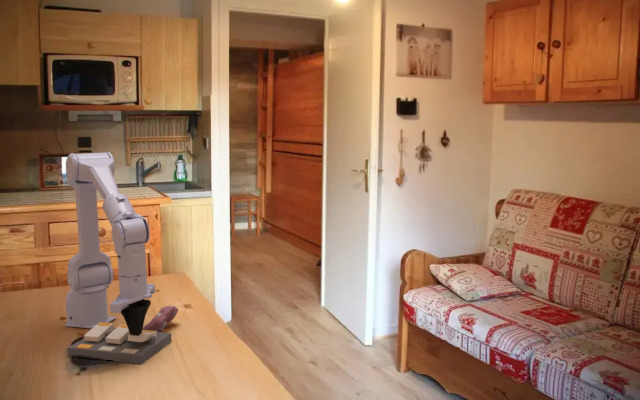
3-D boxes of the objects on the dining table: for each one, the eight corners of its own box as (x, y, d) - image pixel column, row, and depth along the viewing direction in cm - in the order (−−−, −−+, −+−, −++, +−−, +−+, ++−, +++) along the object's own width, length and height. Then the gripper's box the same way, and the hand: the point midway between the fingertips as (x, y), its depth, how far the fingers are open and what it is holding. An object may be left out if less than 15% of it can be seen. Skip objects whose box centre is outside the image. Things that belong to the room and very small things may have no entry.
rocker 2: (106, 342, 127) (105, 337, 126) (121, 328, 132) (120, 323, 132) (120, 344, 126) (119, 338, 125) (135, 329, 131) (134, 325, 131)
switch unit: (67, 356, 125) (66, 341, 125) (103, 334, 138) (102, 320, 137) (141, 364, 121) (140, 348, 120) (171, 341, 133) (170, 327, 133)
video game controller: (155, 343, 136) (166, 319, 135) (139, 334, 137) (149, 309, 135) (173, 328, 146) (184, 305, 144) (158, 320, 146) (168, 297, 145)
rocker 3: (127, 340, 125) (127, 334, 125) (142, 335, 131) (142, 329, 131) (142, 342, 124) (142, 336, 124) (156, 336, 130) (156, 331, 130)
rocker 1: (84, 340, 128) (83, 335, 128) (100, 326, 133) (99, 321, 133) (98, 341, 127) (97, 336, 127) (114, 328, 133) (113, 323, 132)
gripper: (130, 284, 115) (133, 348, 117) (166, 266, 129) (168, 324, 131) (99, 282, 117) (103, 345, 119) (138, 264, 131) (141, 321, 133)
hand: (135, 334), depth 125 cm, fingers closed
